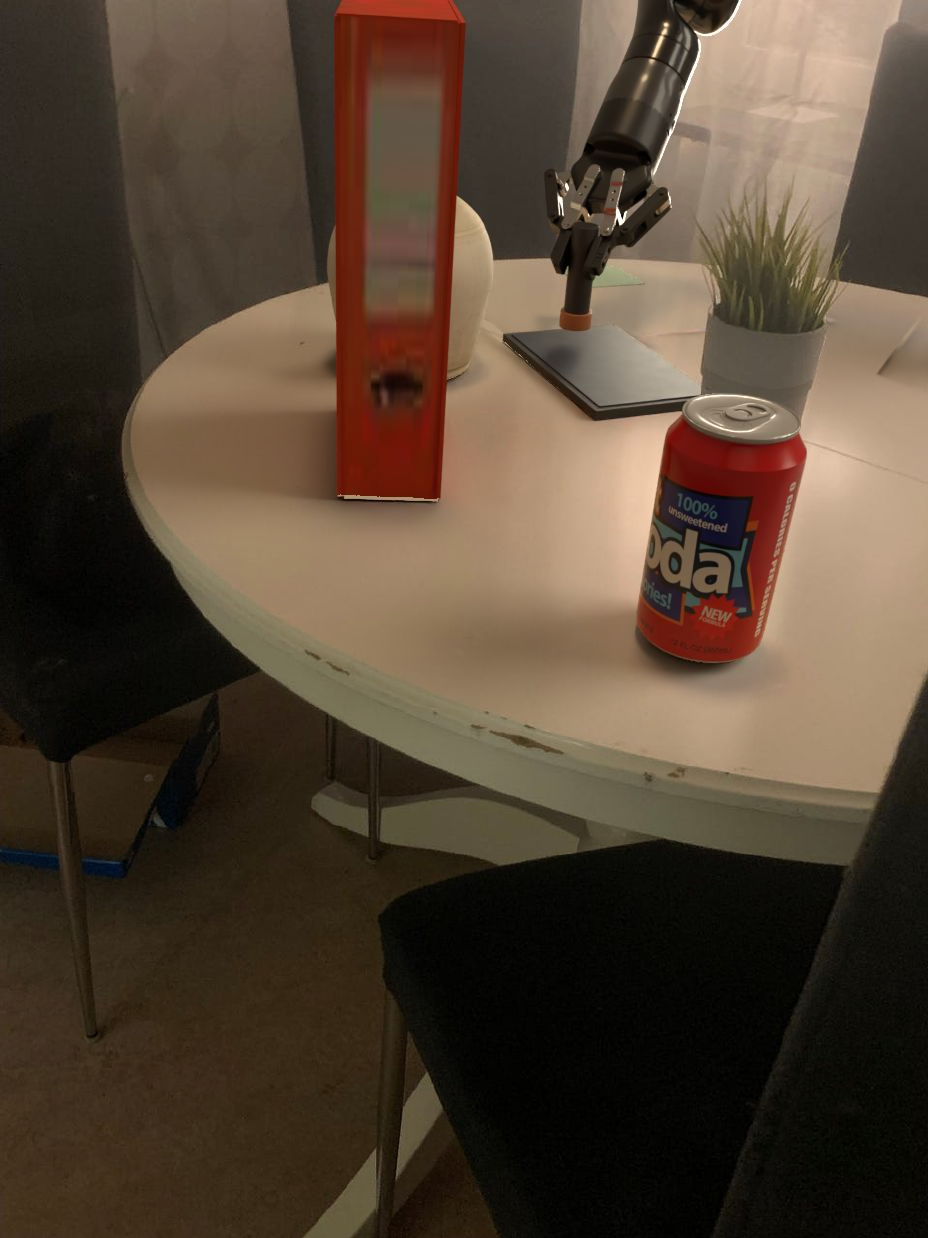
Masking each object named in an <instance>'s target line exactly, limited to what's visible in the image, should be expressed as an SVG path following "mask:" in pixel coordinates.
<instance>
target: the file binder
mask: <svg viewBox="0 0 928 1238" xmlns="http://www.w3.org/2000/svg"><path fill="white" fill-rule="evenodd" d="M466 25H467V22H466V21H465V19H464V17H463V15H462V13H461V12H460V11H459V8H458V7H457V6H456V4H455V2H454V1H453V0H341V1H340V3H339V5H338V7H337V9H336V11H335V13H334V16H333V47H334V48H333V49H334V51H333V55H334V56H333V59H334V60H333V61H334V62H333V63H334V64H333V65H334V67H333V69H334V70H333V71H334V75H333V76H334V80H333V81H334V212H335V213H334V218H335V219H334V220H335V223H334V227H335V246H336V319H335V371H336V372H335V378H336V379H335V381H336V382H335V383H336V384H335V385H336V388H335V389H336V390H335V391H336V393H335V394H336V395H335V397H336V399H335V400H336V401H335V404H336V409H335V410H336V496H337V495H340V494H341V495H356V496H357V495H360V496H377V497H379V496H380V497H413V498H424V499H437V498H441V497H442V478H443V463H444V462H443V460H444V443H445V423H446V405H447V387H448V385H447V383H448V381H447V369H448V350H449V331H450V312H451V293H452V275H453V256H454V237H455V218H456V200H457V196H458V195H457V194H458V181H459V160H460V159H459V158H460V143H461V142H460V139H461V124H462V106H463V105H462V102H463V86H464V85H463V83H464V68H465V67H464V65H465V48H466V29H467V28H466V27H467V26H466Z"/></svg>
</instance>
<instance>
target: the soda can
mask: <svg viewBox="0 0 928 1238" xmlns="http://www.w3.org/2000/svg"><path fill="white" fill-rule="evenodd" d="M801 428H802V420H801V419H800V417H799V416H798V415H797V413H795V412H794V411H793V410H792V409H790V408H789V407H786V406H785V405H783V404H780V403H779V402H775V401H773V400H770V399H766V398H763V397H761V396H760V397H759V396H755V395H750V394H745V393H744V394H743V393H733V392H714V393H712V394H705V395H700V396H696V397H694V398H691V399H689V400H688V401H687V402H686V403H685V404H684V405H683V408H682V410H681V414H680V415H679V417H677V419H676V420H675V421H673V423H671V424H670V425H669V426H668V428H667V430H666V432H665V436H664V442H663V447H662V452H661V460H660V466H659V470H658V471H659V472H658V478H657V483H656V484H657V485H656V488H655V496H654V502H653V503H654V504H653V508H652V514H651V520H650V527H649V532H648V533H649V534H648V539H647V544H646V545H647V546H646V550H645V551H646V552H645V558H644V564H643V570H642V576H641V580H640V581H641V583H640V589H639V595H638V600H637V607H636V624H637V627H638V629H639V630H640V631H639V632H641V634H642V635H643V636H644V638H645V639H646V640H647V641H648V642H650V643H651V645H653V646H655V647H656V648H658V649H659V650H661V651H663V652H664V653H666V654H669V655H671V656H674V657H676V658H679V659H681V658H682V660H685V659H686V660H685V661H688V660H690V661H689V662H693V661H695V662H694V663H700V662H702V664H722V663H730V662H734V661H738V660H740V659H743V658H746V657H747V656H749V655H751V654H752V653H753V652H755V651H756V650H757V649H758V647H759V646H760V644H761V642H762V640H763V638H764V635H765V630H766V626H767V623H768V618H769V615H770V611H771V606H772V602H773V598H774V594H775V589H776V586H777V582H778V577H779V574H780V570H781V565H782V561H783V557H784V553H785V549H786V545H787V540H788V537H789V532H790V528H791V525H792V520H793V516H794V513H795V507H796V504H797V500H798V496H799V491H800V488H801V483H802V480H803V479H802V478H803V475H804V471H805V466H806V462H807V456H808V451H807V447H806V444H805V442H804V440H803V438H802V436H801V434H800V430H801Z"/></svg>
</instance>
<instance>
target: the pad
mask: <svg viewBox="0 0 928 1238" xmlns="http://www.w3.org/2000/svg"><path fill="white" fill-rule="evenodd" d="M567 272H568V267H567V269H566V272H565V274H564V275H565V276H567ZM636 285H646V283H645V282H643V281H641V280H640V279H638V278H637V277H635V276H633V275H631V274H630V273H628V272H626V271H625V270H623V269H622V268H620V267H618V266H616V265H613V264H611V265H606V266H605V268H604V271H603V273H602V274H601V275H600V276H596V277H595V279H594V281H593V285H592V289H595V288H608V287H622V286H624V287H625V286H636Z"/></svg>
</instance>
